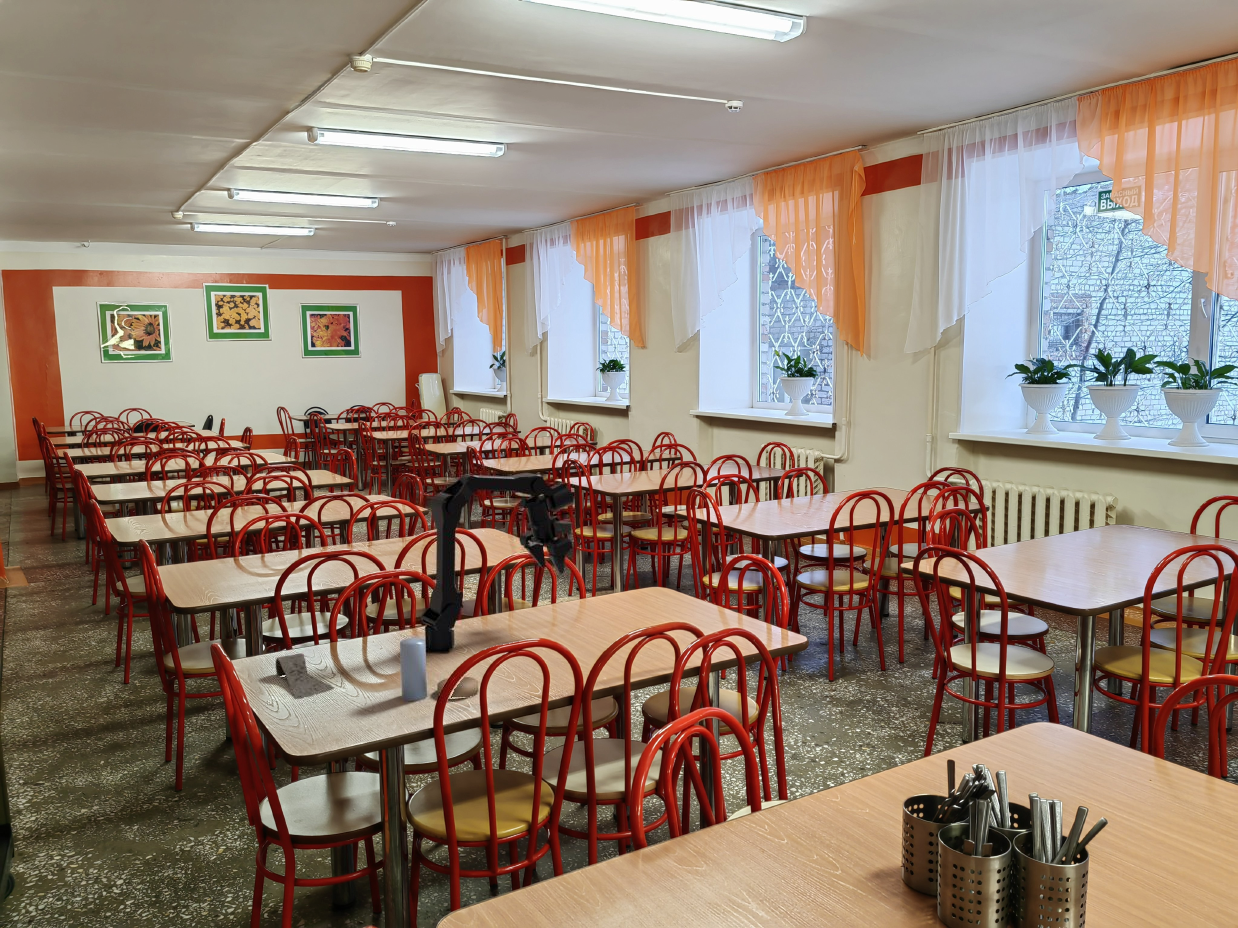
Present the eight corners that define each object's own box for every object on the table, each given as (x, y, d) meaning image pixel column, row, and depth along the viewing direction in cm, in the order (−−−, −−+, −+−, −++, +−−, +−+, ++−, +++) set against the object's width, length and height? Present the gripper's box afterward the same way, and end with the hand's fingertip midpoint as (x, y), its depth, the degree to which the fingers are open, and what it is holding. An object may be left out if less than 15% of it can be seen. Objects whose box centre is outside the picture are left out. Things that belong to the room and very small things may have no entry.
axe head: (341, 684, 210) (296, 693, 204) (341, 704, 211) (296, 714, 205) (311, 647, 226) (268, 655, 220) (310, 666, 227) (268, 675, 221)
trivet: (432, 699, 205) (432, 690, 205) (443, 684, 214) (442, 676, 213) (473, 699, 204) (473, 690, 204) (482, 685, 213) (482, 676, 213)
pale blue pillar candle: (398, 700, 204) (396, 645, 203) (406, 691, 209) (404, 637, 208) (423, 701, 204) (421, 645, 202) (429, 692, 209) (428, 637, 208)
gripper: (582, 511, 251) (595, 565, 255) (545, 503, 266) (558, 553, 270) (548, 526, 245) (562, 581, 249) (512, 517, 260) (526, 568, 264)
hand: (552, 570), depth 258 cm, fingers open, 9 cm apart
